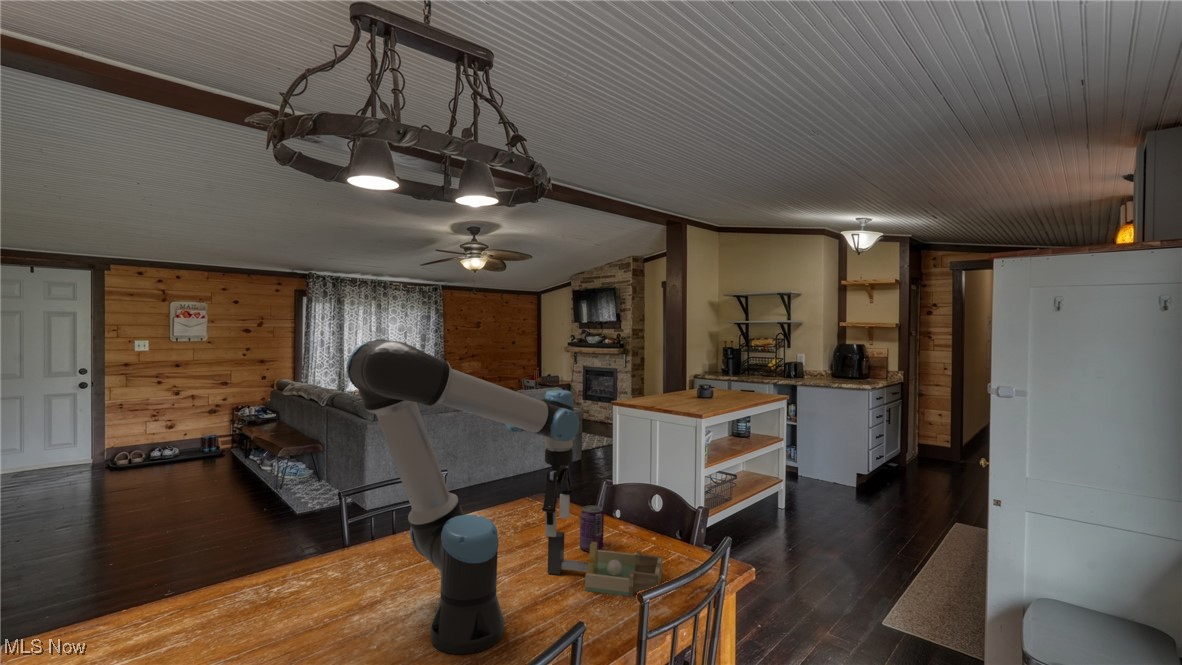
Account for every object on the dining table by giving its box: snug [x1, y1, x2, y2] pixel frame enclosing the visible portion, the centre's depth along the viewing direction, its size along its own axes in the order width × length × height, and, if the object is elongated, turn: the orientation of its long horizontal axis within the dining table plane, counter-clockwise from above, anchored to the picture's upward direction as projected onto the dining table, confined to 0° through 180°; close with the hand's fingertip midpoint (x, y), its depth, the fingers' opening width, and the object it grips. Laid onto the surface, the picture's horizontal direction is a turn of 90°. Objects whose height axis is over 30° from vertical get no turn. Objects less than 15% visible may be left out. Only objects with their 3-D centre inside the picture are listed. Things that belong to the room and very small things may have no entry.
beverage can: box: [579, 505, 605, 553], centre depth 160 cm, size 7×7×12 cm
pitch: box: [584, 549, 636, 597], centre depth 140 cm, size 16×11×4 cm
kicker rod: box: [547, 530, 598, 576], centre depth 142 cm, size 6×13×10 cm, turn 78°
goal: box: [628, 550, 663, 598], centre depth 138 cm, size 16×7×5 cm, turn 168°
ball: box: [607, 560, 622, 576], centre depth 140 cm, size 4×4×4 cm
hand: (557, 526), depth 143 cm, fingers open, 13 cm apart
